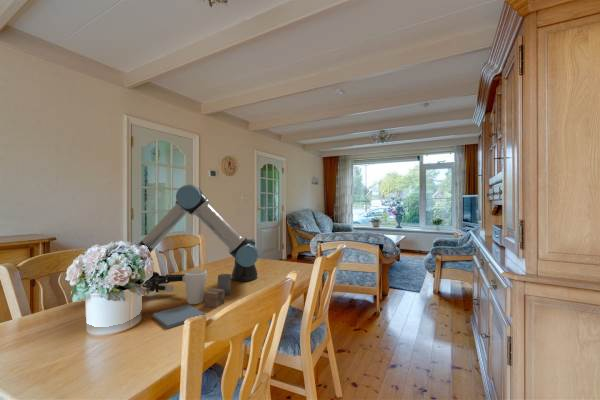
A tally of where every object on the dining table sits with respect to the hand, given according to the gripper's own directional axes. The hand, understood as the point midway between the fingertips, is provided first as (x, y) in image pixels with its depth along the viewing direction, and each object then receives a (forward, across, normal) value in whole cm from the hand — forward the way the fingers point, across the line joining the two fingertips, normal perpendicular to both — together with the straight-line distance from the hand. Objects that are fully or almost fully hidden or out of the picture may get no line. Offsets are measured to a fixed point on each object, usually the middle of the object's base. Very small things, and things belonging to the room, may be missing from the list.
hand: (183, 284), depth 123 cm
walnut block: (+16, 0, -7) cm, 18 cm away
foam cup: (+6, 0, -7) cm, 10 cm away
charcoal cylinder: (+12, -13, -7) cm, 19 cm away
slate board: (+12, +15, -7) cm, 20 cm away
